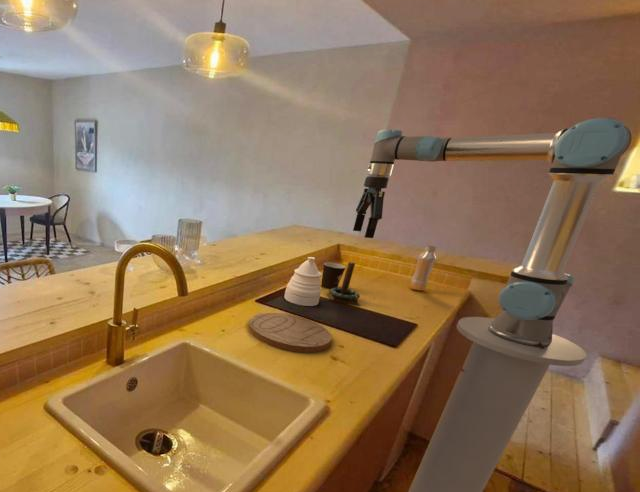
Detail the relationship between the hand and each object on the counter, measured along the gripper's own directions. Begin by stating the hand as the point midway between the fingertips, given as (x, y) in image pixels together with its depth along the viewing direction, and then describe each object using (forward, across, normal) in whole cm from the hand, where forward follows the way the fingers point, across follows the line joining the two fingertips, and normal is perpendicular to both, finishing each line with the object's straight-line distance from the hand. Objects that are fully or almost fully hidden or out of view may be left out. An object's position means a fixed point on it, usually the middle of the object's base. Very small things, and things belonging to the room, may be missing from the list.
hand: (362, 234), depth 150 cm
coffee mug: (+27, -16, -1) cm, 31 cm away
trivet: (+27, +42, -29) cm, 57 cm away
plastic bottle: (+27, -26, +37) cm, 53 cm away
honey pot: (+27, +7, -18) cm, 33 cm away
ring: (+24, 0, -1) cm, 25 cm away
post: (+27, 0, -1) cm, 27 cm away
